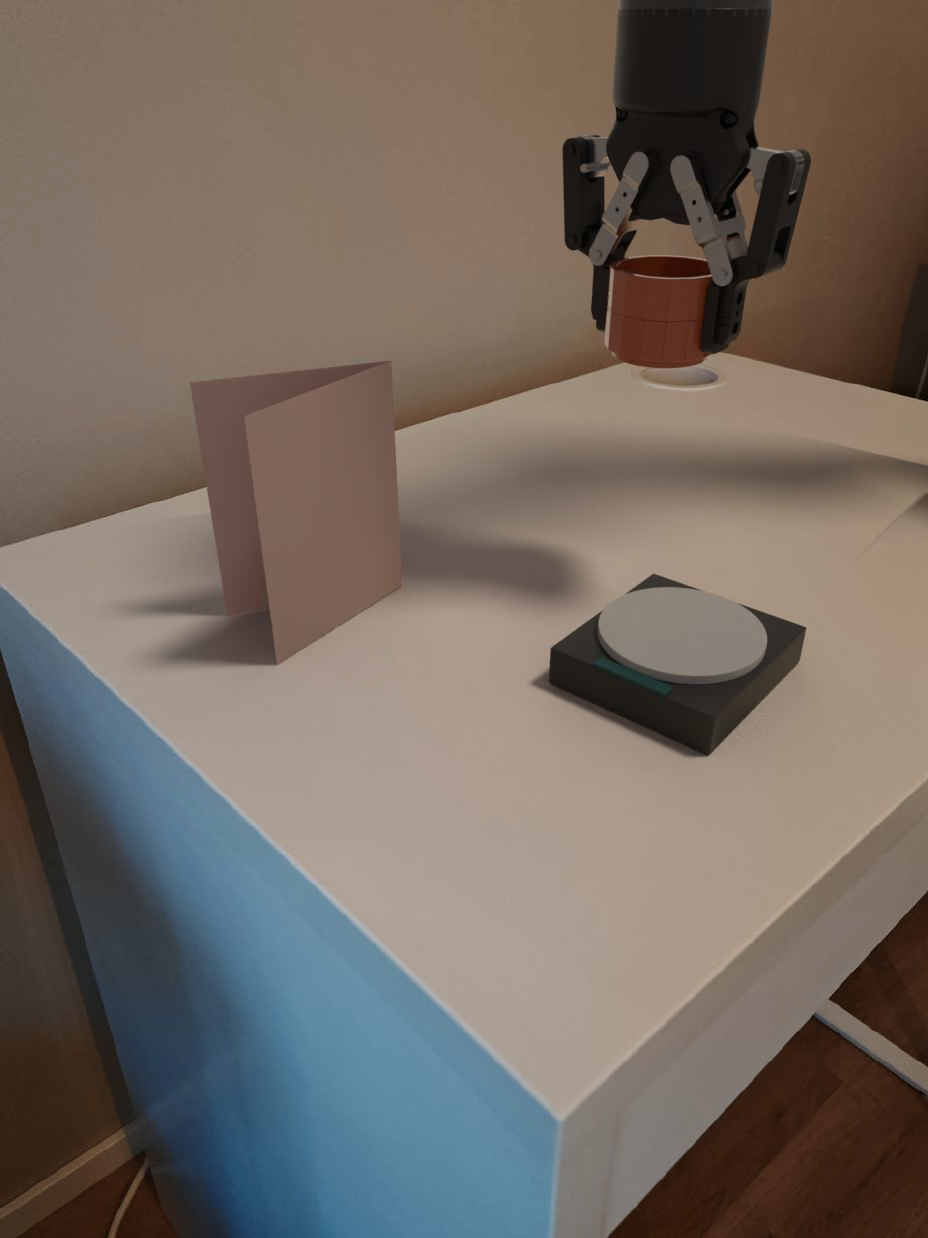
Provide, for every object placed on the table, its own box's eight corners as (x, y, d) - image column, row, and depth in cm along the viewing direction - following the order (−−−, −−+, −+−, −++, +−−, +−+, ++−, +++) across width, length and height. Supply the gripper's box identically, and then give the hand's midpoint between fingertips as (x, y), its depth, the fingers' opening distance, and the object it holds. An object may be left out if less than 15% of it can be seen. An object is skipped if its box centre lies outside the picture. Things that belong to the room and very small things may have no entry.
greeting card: (398, 579, 65) (387, 356, 57) (431, 635, 59) (423, 395, 51) (225, 608, 61) (188, 377, 54) (241, 671, 56) (201, 421, 48)
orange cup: (642, 333, 61) (649, 250, 58) (734, 352, 57) (746, 264, 55) (583, 356, 57) (588, 267, 54) (678, 378, 53) (689, 284, 51)
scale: (649, 605, 61) (654, 564, 60) (800, 661, 56) (809, 617, 54) (548, 683, 54) (550, 638, 53) (708, 756, 49) (716, 708, 47)
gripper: (867, 0, 46) (804, 348, 55) (615, 5, 54) (595, 307, 63) (799, -2, 41) (741, 379, 50) (533, 3, 50) (524, 331, 58)
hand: (660, 338), depth 57 cm, fingers closed on orange cup, 6 cm apart
